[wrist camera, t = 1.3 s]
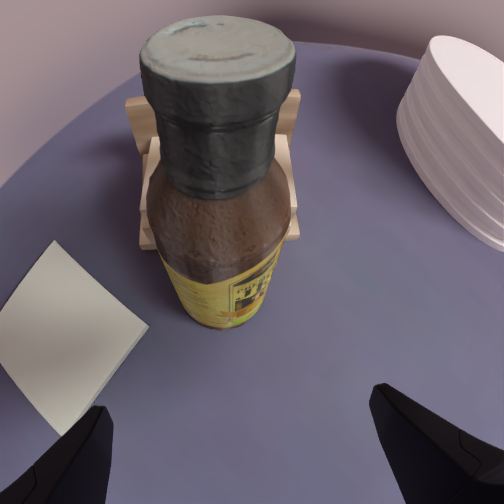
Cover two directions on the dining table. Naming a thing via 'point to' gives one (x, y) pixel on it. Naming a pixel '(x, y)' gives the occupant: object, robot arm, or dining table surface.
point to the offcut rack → (150, 155)
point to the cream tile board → (64, 337)
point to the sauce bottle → (218, 161)
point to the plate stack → (459, 133)
